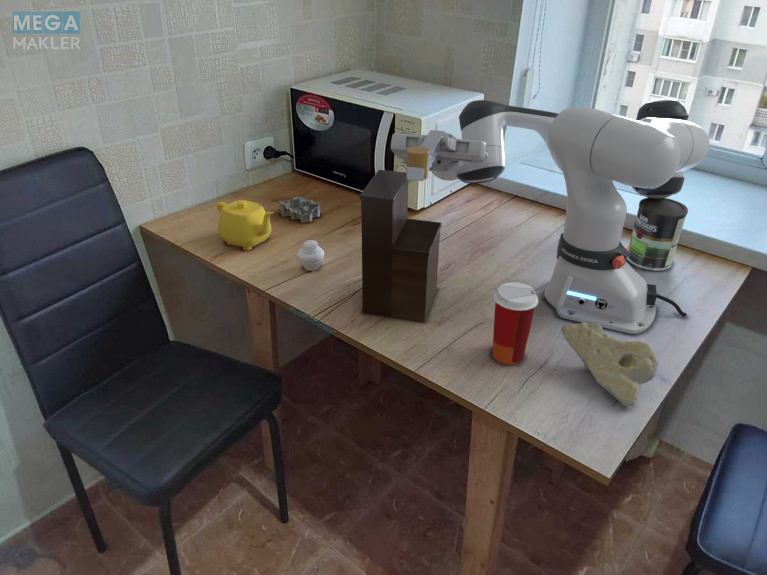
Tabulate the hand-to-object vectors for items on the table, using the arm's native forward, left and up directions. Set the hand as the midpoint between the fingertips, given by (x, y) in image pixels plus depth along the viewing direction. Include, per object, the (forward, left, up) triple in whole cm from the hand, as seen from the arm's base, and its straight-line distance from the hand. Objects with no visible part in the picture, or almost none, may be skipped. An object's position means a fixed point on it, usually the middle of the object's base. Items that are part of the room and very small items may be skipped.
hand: (433, 140), depth 124 cm
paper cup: (-28, +18, -31) cm, 46 cm away
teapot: (+44, +13, -31) cm, 55 cm away
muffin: (+23, +14, -31) cm, 41 cm away
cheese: (-44, +15, -31) cm, 56 cm away
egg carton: (+44, -6, -31) cm, 54 cm away
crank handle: (-2, +7, -2) cm, 7 cm away
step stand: (-1, +14, -31) cm, 34 cm away
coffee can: (-40, -35, -31) cm, 62 cm away
